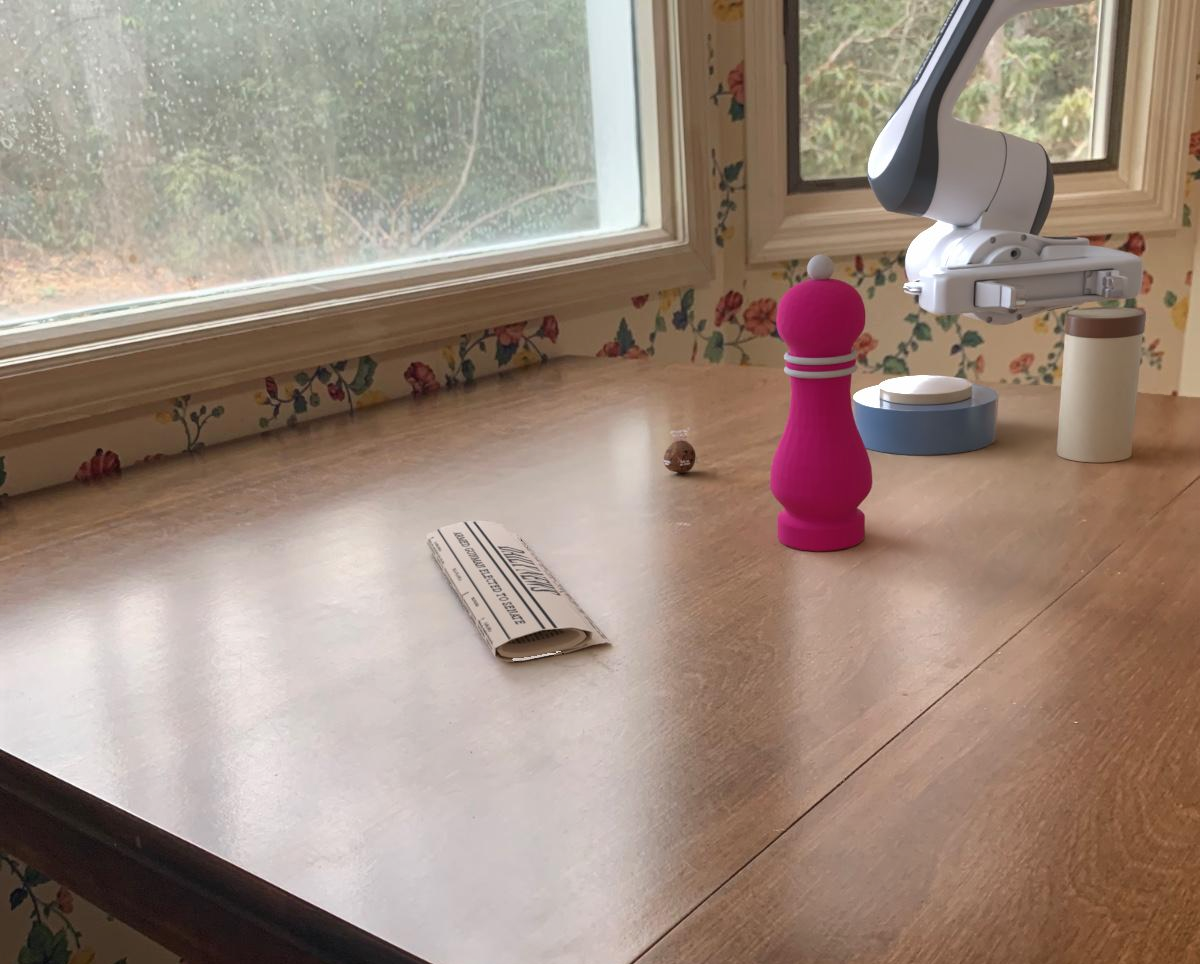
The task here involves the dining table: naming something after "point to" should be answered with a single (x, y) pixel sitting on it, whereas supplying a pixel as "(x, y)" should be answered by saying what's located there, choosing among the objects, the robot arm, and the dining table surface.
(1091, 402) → the canister
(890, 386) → the two-tier round pedestal
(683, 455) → the chocolate
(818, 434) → the pepper mill
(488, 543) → the newspaper
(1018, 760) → the dining table surface
